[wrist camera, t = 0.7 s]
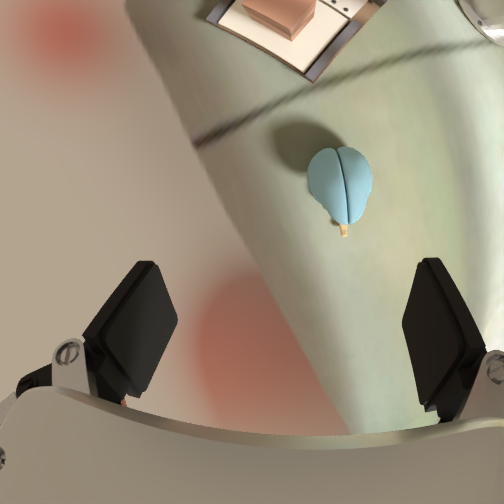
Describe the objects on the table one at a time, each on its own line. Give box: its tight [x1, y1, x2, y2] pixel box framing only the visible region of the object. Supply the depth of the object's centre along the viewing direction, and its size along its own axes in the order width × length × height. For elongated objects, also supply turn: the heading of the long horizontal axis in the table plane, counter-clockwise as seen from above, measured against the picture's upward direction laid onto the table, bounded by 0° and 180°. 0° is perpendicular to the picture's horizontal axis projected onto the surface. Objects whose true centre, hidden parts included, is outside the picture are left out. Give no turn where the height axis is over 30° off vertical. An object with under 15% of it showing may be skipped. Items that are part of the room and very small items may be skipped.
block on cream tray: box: [218, 0, 349, 73], centre depth 18 cm, size 8×11×7 cm
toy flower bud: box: [307, 146, 372, 237], centre depth 29 cm, size 7×9×12 cm
